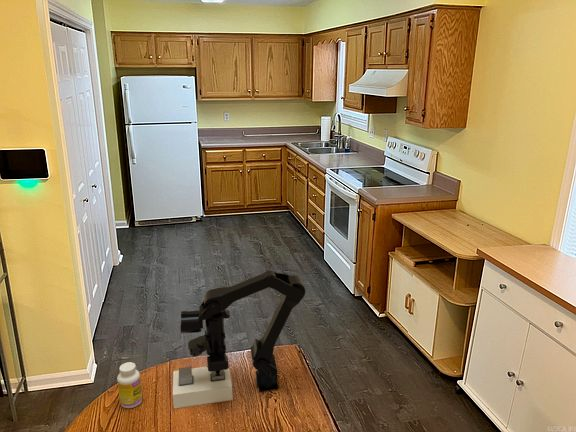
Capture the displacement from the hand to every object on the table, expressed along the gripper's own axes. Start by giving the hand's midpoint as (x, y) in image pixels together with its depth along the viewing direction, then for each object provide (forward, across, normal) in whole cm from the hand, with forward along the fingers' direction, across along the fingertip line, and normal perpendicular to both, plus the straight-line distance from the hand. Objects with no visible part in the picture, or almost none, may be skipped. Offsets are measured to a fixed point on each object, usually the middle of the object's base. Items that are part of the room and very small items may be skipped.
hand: (217, 372), depth 145 cm
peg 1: (+3, 0, -10) cm, 10 cm away
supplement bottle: (+7, 0, -27) cm, 28 cm away
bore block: (+6, 0, -5) cm, 8 cm away
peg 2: (+5, 0, 0) cm, 5 cm away
